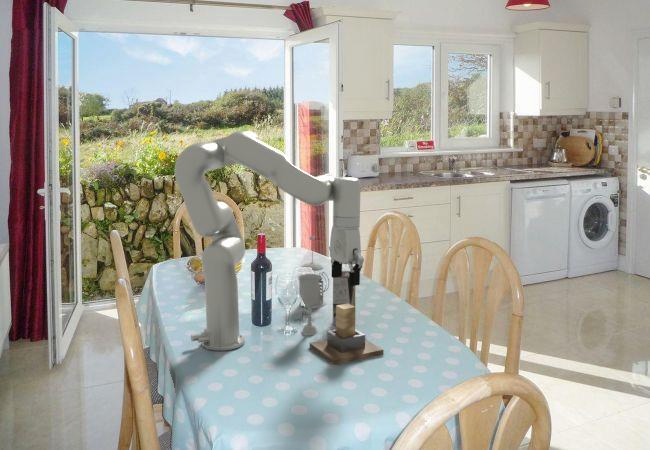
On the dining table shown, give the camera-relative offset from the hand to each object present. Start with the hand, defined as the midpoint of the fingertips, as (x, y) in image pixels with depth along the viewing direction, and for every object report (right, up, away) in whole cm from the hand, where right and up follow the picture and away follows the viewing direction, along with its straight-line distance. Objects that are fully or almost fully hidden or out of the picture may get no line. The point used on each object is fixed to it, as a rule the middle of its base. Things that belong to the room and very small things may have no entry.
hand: (345, 281), depth 180 cm
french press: (-9, -13, +48) cm, 50 cm away
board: (0, -21, +4) cm, 21 cm away
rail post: (0, -19, +3) cm, 19 cm away
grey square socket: (0, -19, +3) cm, 19 cm away
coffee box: (+1, -16, +30) cm, 34 cm away
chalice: (-11, -18, +19) cm, 28 cm away
